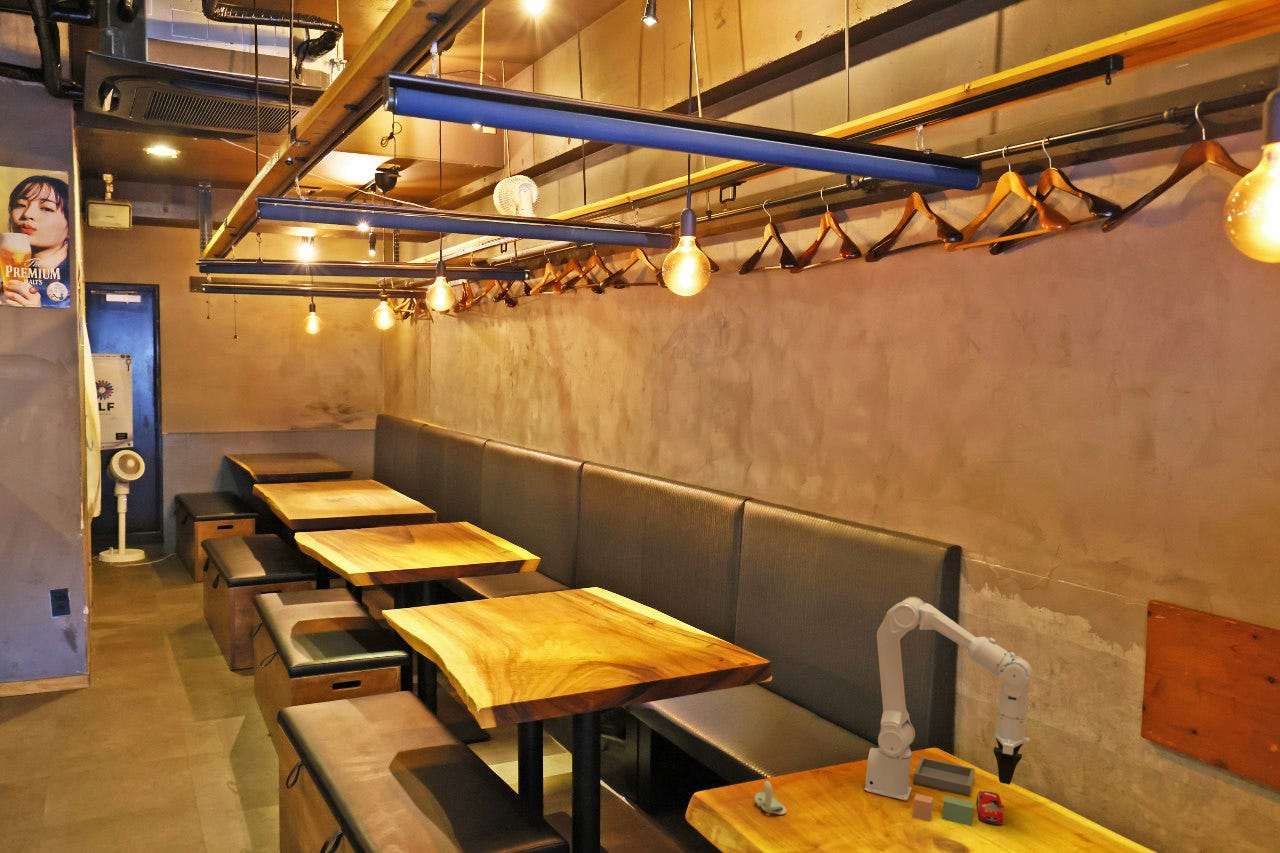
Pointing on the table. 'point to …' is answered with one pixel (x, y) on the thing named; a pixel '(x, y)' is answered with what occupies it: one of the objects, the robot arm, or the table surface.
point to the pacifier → (769, 800)
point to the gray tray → (944, 776)
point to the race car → (990, 807)
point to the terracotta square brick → (922, 807)
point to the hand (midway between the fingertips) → (1005, 777)
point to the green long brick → (958, 810)
